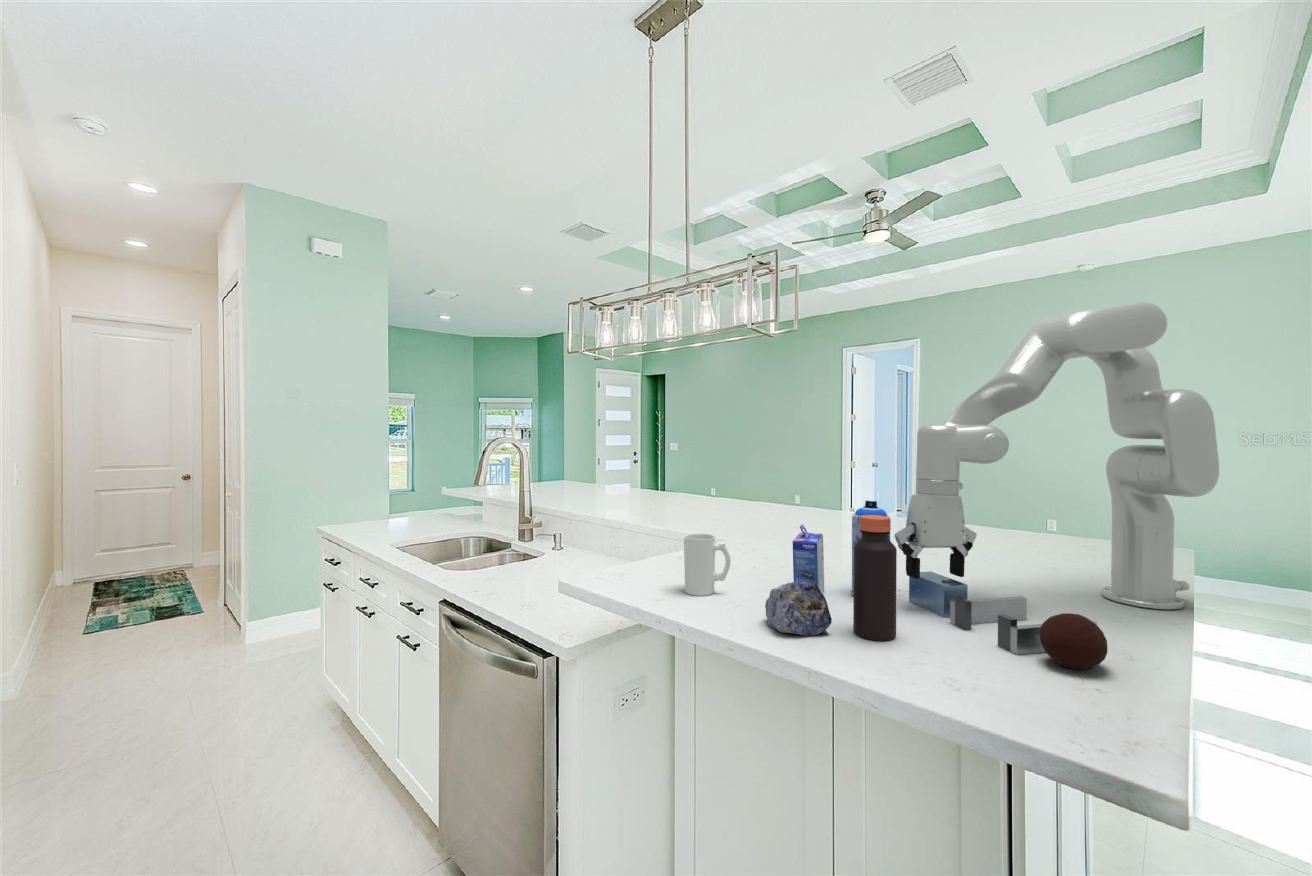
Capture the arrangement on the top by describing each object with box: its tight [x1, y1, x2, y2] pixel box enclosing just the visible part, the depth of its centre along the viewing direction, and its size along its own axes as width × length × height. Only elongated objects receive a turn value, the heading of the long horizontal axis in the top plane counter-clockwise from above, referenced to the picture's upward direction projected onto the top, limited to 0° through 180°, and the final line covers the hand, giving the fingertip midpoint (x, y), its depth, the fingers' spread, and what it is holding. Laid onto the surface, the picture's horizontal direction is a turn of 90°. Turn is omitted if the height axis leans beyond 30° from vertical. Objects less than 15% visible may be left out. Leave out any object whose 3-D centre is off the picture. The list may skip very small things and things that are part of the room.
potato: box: [1039, 612, 1109, 670], centre depth 81 cm, size 8×9×8 cm
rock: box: [764, 581, 833, 637], centre depth 98 cm, size 11×10×10 cm
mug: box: [683, 533, 731, 597], centre depth 119 cm, size 10×7×12 cm, turn 72°
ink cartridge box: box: [792, 523, 825, 594], centre depth 118 cm, size 10×6×14 cm, turn 157°
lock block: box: [908, 570, 969, 619], centre depth 108 cm, size 5×10×6 cm, turn 11°
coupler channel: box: [949, 595, 1098, 656], centre depth 94 cm, size 15×14×5 cm
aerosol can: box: [850, 500, 891, 598], centre depth 116 cm, size 8×8×20 cm
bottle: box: [852, 515, 898, 642], centre depth 94 cm, size 7×7×20 cm
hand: (934, 576), depth 108 cm, fingers open, 9 cm apart
